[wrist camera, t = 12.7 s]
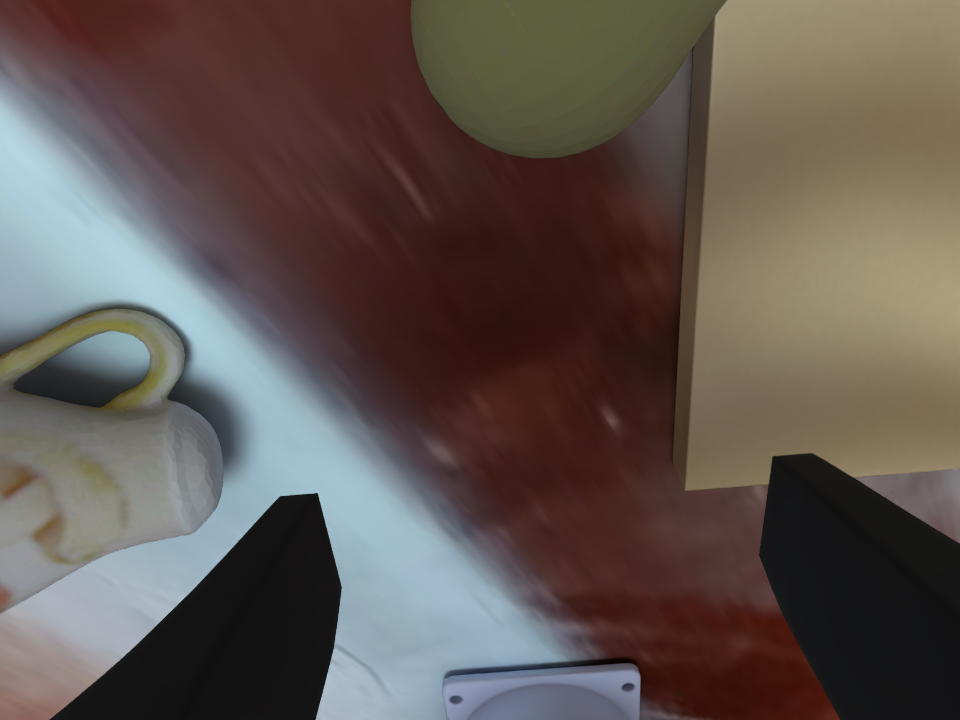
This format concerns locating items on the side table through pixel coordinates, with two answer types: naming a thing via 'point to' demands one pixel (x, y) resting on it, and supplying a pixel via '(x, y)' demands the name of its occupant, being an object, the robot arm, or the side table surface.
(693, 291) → the maple board
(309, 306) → the side table surface
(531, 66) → the light bulb
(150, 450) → the mug
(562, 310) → the side table surface
